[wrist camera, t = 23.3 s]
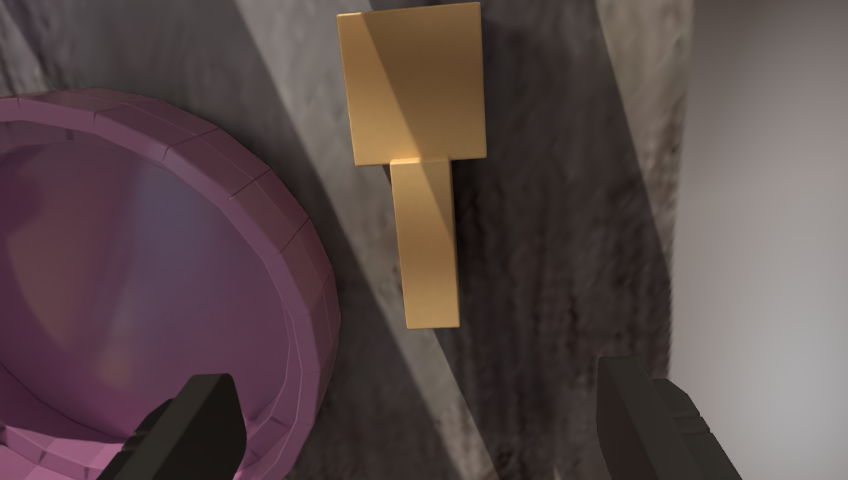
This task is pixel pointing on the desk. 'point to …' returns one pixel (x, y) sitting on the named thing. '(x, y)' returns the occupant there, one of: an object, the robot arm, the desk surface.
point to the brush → (418, 133)
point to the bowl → (149, 283)
